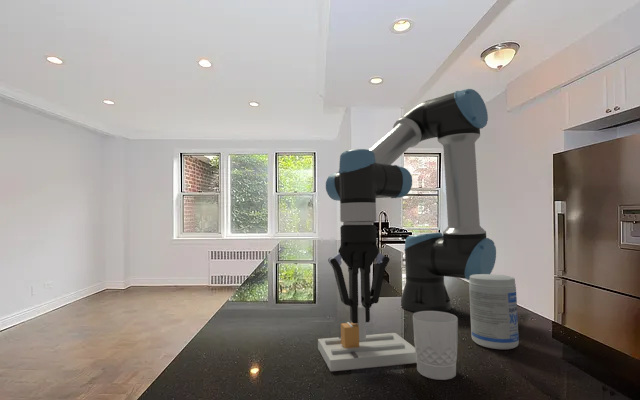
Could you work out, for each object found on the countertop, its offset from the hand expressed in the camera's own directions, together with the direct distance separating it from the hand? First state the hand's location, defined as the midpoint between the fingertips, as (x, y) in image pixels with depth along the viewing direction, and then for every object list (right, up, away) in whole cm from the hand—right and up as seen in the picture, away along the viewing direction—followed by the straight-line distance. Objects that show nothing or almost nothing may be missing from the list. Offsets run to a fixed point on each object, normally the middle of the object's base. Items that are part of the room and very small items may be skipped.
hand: (360, 338), depth 72 cm
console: (+1, -3, 0) cm, 4 cm away
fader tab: (-2, -1, 0) cm, 2 cm away
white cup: (+13, -3, -8) cm, 16 cm away
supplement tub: (+31, -4, +6) cm, 31 cm away
